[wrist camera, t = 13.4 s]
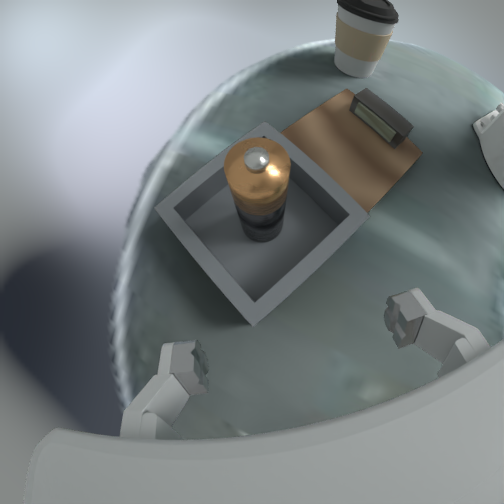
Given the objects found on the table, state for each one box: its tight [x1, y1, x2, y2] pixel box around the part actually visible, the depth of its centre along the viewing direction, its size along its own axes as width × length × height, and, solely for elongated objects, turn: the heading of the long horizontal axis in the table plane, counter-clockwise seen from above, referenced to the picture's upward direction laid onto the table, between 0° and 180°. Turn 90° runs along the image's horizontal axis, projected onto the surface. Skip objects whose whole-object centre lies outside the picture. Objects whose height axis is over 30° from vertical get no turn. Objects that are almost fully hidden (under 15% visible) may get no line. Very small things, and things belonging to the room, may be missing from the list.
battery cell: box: [224, 137, 291, 243], centre depth 23 cm, size 4×4×13 cm
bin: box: [154, 121, 370, 327], centre depth 28 cm, size 15×15×5 cm
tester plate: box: [281, 88, 423, 213], centre depth 29 cm, size 14×14×4 cm
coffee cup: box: [334, 0, 398, 78], centre depth 28 cm, size 9×9×15 cm
